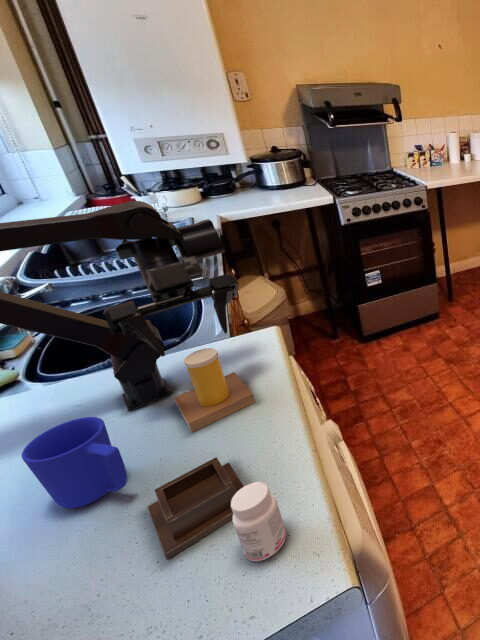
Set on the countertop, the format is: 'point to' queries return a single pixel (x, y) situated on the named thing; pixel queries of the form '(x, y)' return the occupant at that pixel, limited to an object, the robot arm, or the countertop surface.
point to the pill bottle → (257, 521)
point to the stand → (194, 505)
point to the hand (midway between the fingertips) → (196, 343)
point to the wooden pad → (206, 415)
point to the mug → (76, 462)
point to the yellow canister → (207, 376)
